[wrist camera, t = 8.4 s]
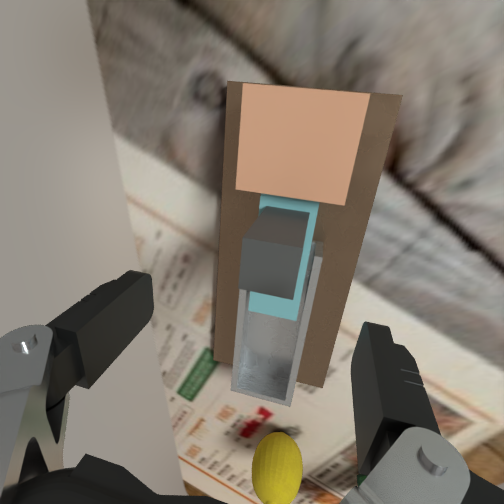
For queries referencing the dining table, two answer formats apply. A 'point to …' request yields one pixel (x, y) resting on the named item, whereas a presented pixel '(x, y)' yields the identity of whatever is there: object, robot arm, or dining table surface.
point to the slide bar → (277, 255)
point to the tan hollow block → (299, 141)
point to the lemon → (277, 469)
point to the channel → (317, 273)
